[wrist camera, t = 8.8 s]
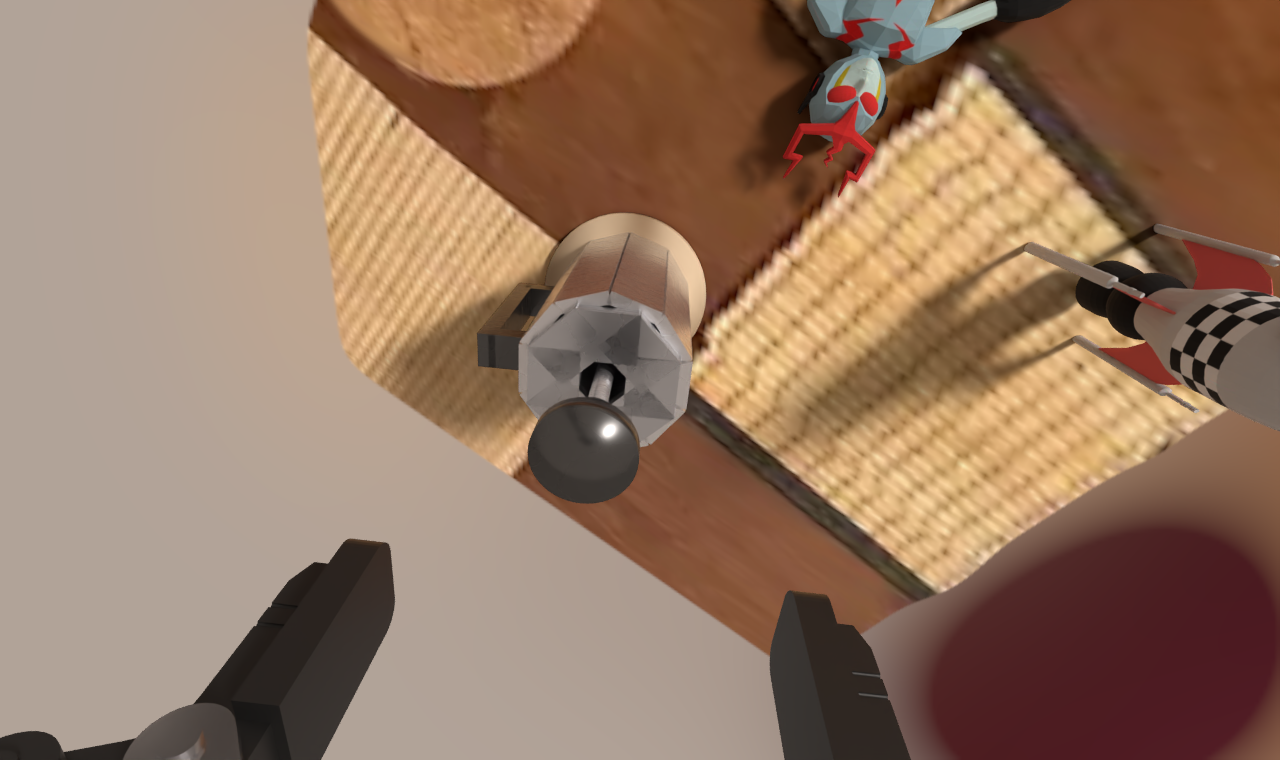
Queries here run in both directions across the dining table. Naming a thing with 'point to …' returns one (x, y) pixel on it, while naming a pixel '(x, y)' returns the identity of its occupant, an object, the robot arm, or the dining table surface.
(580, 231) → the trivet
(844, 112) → the toy
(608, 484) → the plunger
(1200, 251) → the toy
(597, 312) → the french press
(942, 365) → the dining table surface
